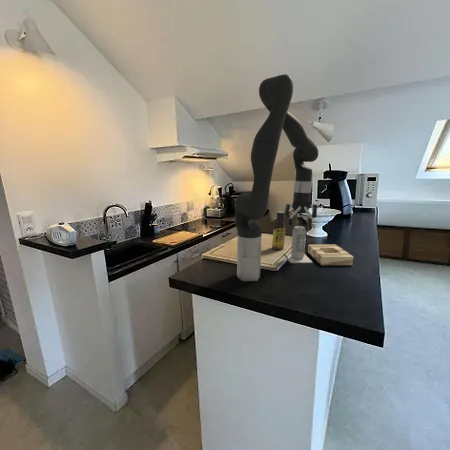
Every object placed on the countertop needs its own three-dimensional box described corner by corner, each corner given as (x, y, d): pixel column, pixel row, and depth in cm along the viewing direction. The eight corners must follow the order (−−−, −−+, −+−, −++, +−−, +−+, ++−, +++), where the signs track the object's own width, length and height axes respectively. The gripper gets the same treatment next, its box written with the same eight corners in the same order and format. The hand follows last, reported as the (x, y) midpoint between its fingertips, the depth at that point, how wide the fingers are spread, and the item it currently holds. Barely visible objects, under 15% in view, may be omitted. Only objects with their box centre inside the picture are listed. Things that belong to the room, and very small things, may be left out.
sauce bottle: (275, 251, 135) (276, 213, 130) (269, 247, 141) (271, 211, 136) (286, 249, 136) (288, 212, 132) (280, 246, 142) (282, 210, 138)
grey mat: (312, 262, 118) (312, 262, 118) (290, 263, 118) (290, 262, 118) (303, 254, 130) (304, 253, 130) (284, 254, 130) (284, 253, 130)
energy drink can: (300, 255, 127) (302, 225, 124) (306, 259, 122) (308, 228, 118) (289, 255, 126) (290, 225, 123) (293, 260, 121) (296, 228, 117)
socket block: (352, 265, 116) (353, 256, 115) (321, 265, 116) (322, 256, 115) (334, 251, 133) (335, 244, 133) (307, 252, 133) (308, 244, 132)
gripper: (289, 191, 113) (286, 227, 117) (321, 192, 114) (317, 228, 117) (284, 190, 120) (282, 224, 124) (314, 190, 121) (311, 224, 124)
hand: (299, 226), depth 121 cm, fingers open, 8 cm apart
